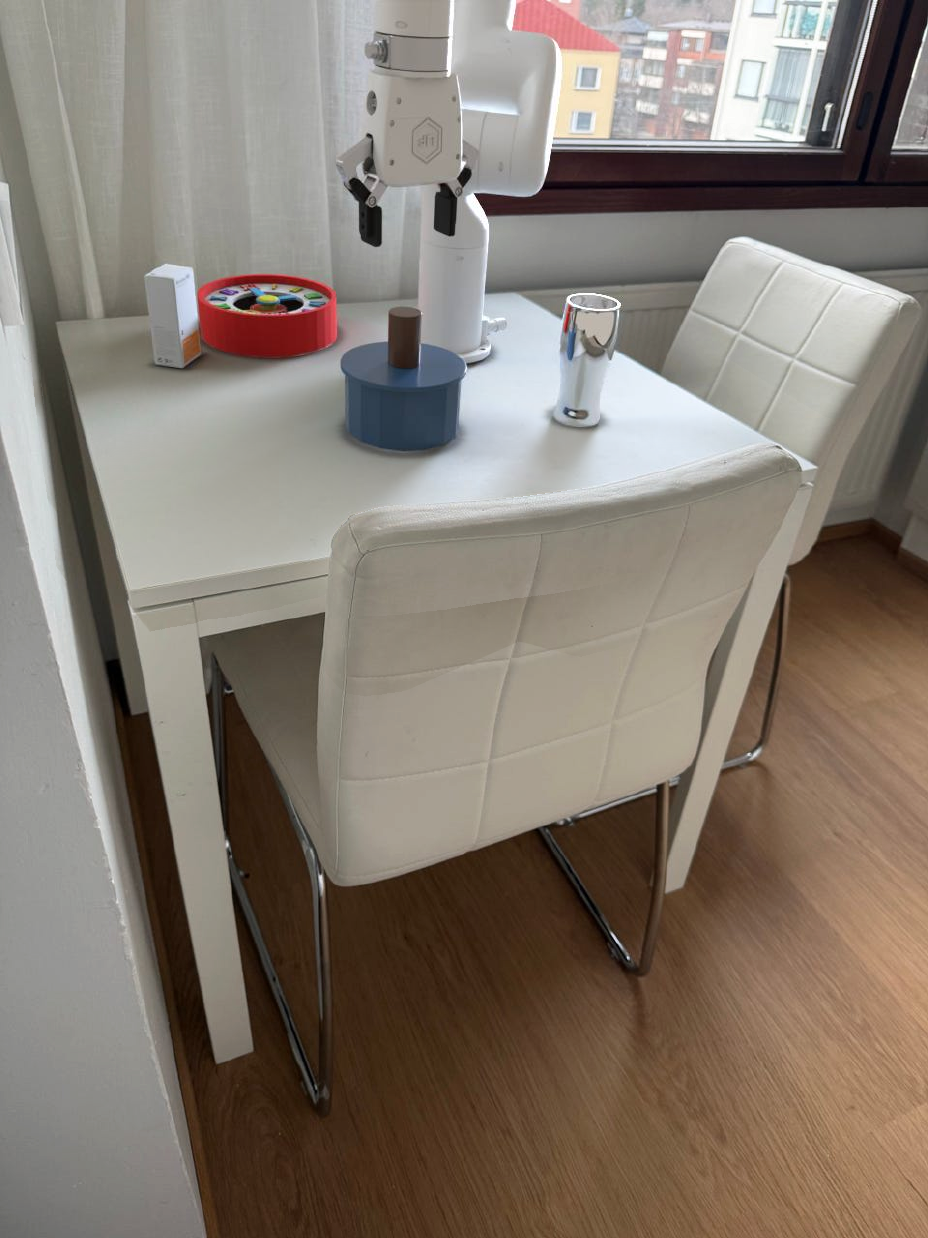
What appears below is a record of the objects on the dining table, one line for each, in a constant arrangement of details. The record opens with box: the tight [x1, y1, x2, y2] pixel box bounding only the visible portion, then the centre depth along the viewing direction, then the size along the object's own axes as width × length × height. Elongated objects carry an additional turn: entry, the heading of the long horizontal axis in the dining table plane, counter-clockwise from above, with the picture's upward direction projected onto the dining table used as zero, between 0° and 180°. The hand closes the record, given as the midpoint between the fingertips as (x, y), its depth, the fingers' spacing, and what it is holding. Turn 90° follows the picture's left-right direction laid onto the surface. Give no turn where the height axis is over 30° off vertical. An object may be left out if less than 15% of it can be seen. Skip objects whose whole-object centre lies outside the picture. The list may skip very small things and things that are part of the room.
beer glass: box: [552, 293, 621, 428], centre depth 115 cm, size 7×7×15 cm
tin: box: [344, 374, 462, 452], centre depth 110 cm, size 14×14×8 cm
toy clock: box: [196, 273, 338, 359], centre depth 135 cm, size 20×6×20 cm
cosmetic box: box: [143, 263, 202, 369], centre depth 123 cm, size 6×4×12 cm
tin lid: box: [339, 306, 467, 392], centre depth 106 cm, size 15×15×7 cm
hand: (408, 238), depth 100 cm, fingers open, 9 cm apart
